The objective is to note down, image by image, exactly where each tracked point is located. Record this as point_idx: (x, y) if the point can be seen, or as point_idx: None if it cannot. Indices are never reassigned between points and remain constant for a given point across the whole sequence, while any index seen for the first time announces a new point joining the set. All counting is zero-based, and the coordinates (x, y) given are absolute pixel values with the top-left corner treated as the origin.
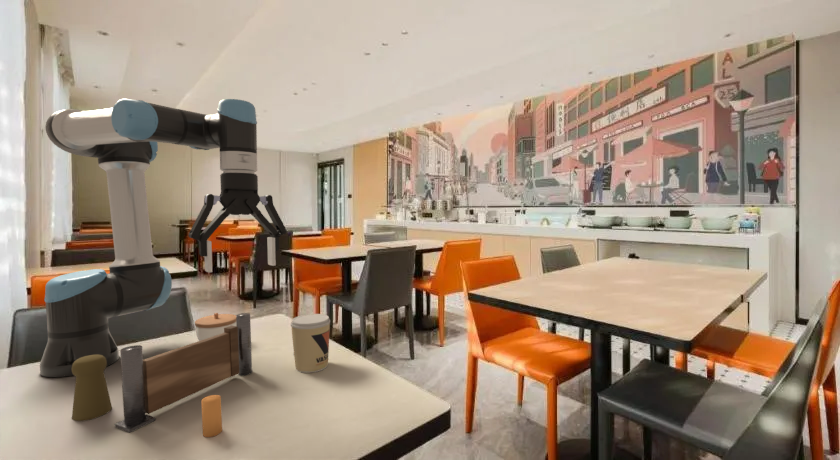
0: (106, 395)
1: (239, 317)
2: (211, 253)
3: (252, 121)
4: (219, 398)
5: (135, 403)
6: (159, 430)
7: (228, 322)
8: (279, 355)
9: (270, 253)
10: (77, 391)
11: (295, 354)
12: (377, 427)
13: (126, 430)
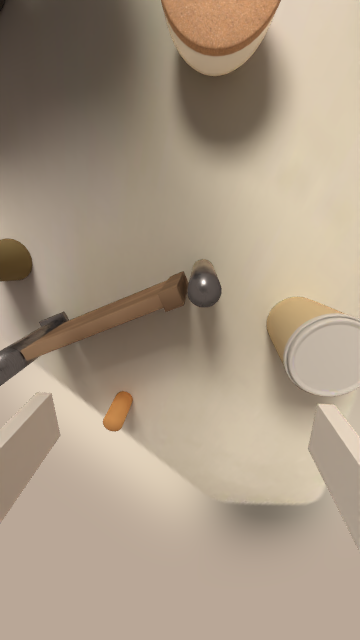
0: (13, 272)
1: (191, 300)
2: (5, 512)
3: None
4: (120, 428)
5: None
6: (81, 360)
7: (239, 46)
8: (285, 229)
9: (342, 487)
10: None
11: (271, 330)
12: (244, 485)
13: None
